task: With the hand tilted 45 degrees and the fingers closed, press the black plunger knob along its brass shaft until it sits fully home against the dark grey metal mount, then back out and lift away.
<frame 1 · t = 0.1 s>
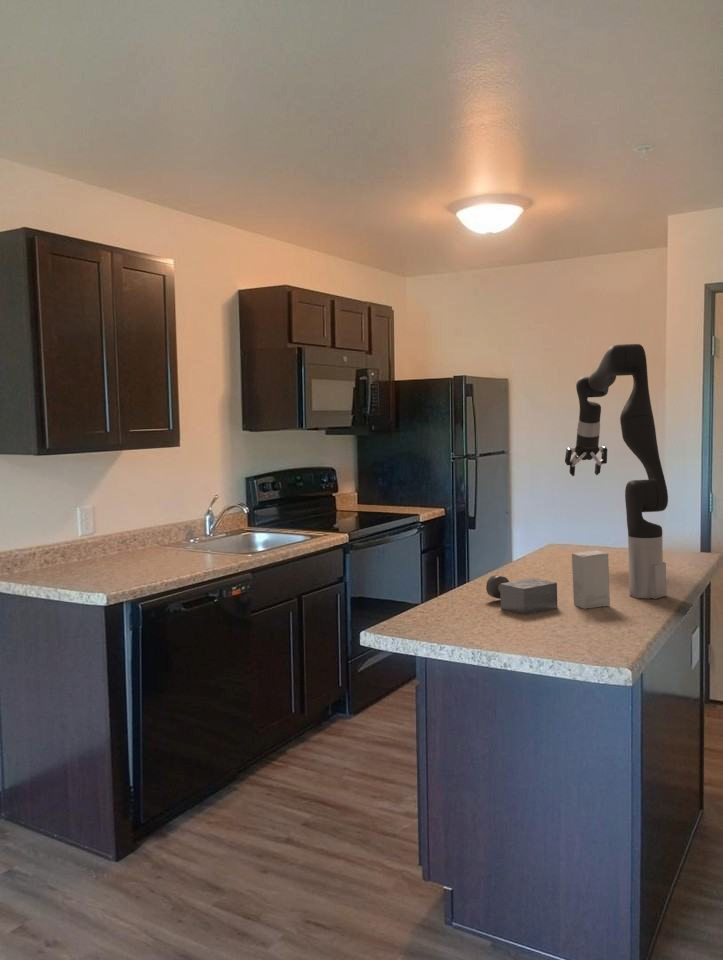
hand: (584, 474, 278), 31 cm above the countertop, tool tilted 20°, fingers open, 8 cm apart
skincare box: (591, 606, 215), on the countertop
mount: (517, 605, 219), on the countertop
knob: (507, 589, 222), point 4 cm above the countertop, slide at 6.0 cm
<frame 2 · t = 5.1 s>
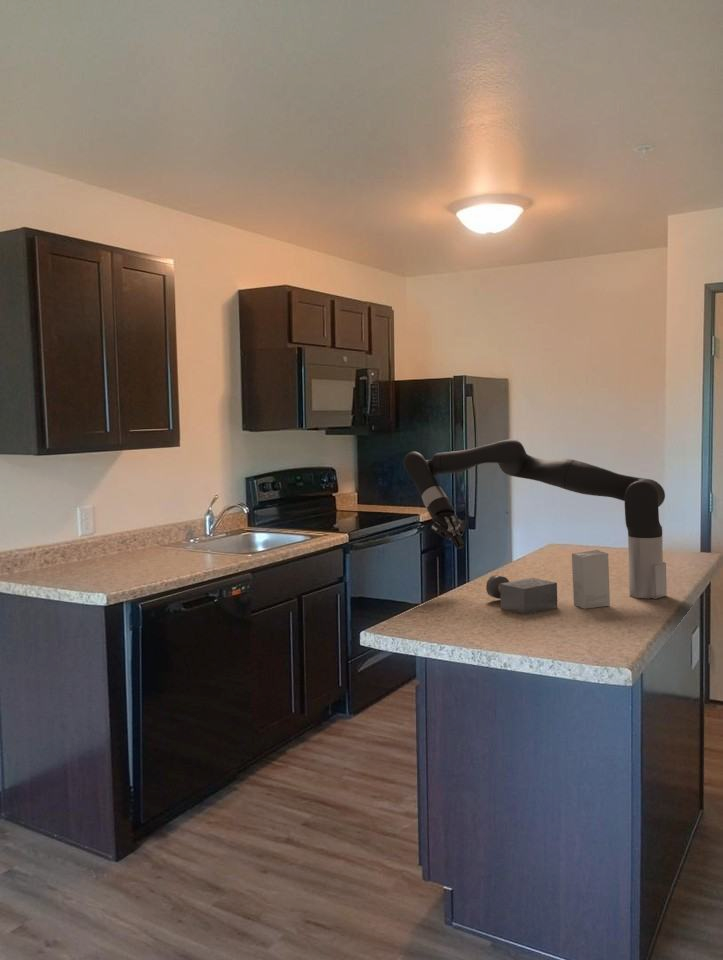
hand: (461, 547, 238), 14 cm above the countertop, tool tilted 45°, fingers closed
nothing on the countertop moved.
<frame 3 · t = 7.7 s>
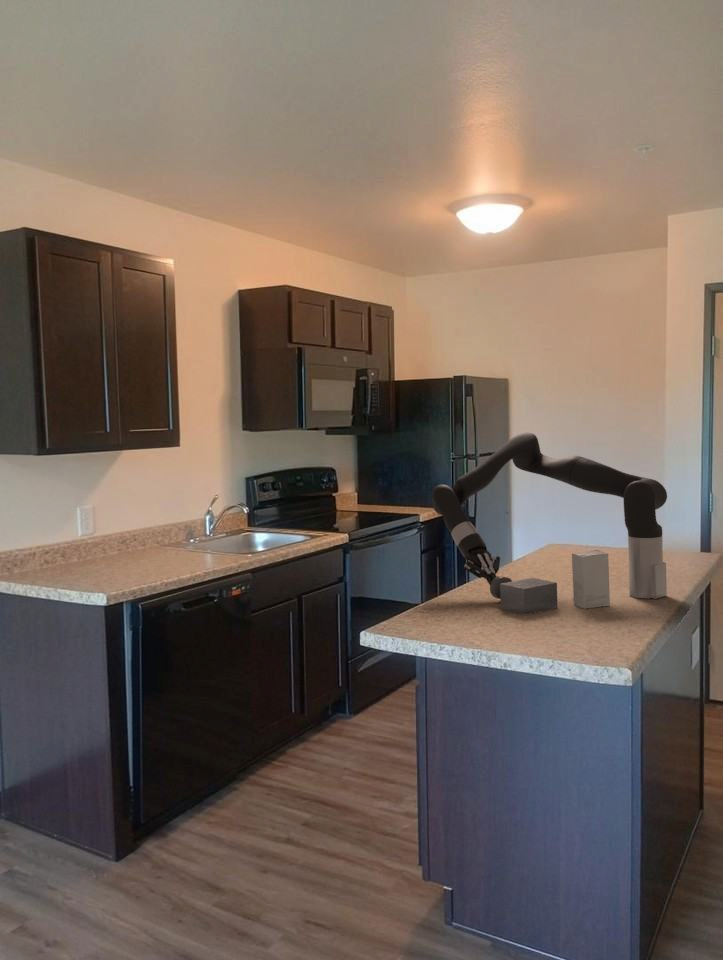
hand: (496, 586, 226), 4 cm above the countertop, tool tilted 45°, fingers closed
knob: (511, 590, 221), point 4 cm above the countertop, slide at 4.4 cm, touching gripper
everything else where it was.
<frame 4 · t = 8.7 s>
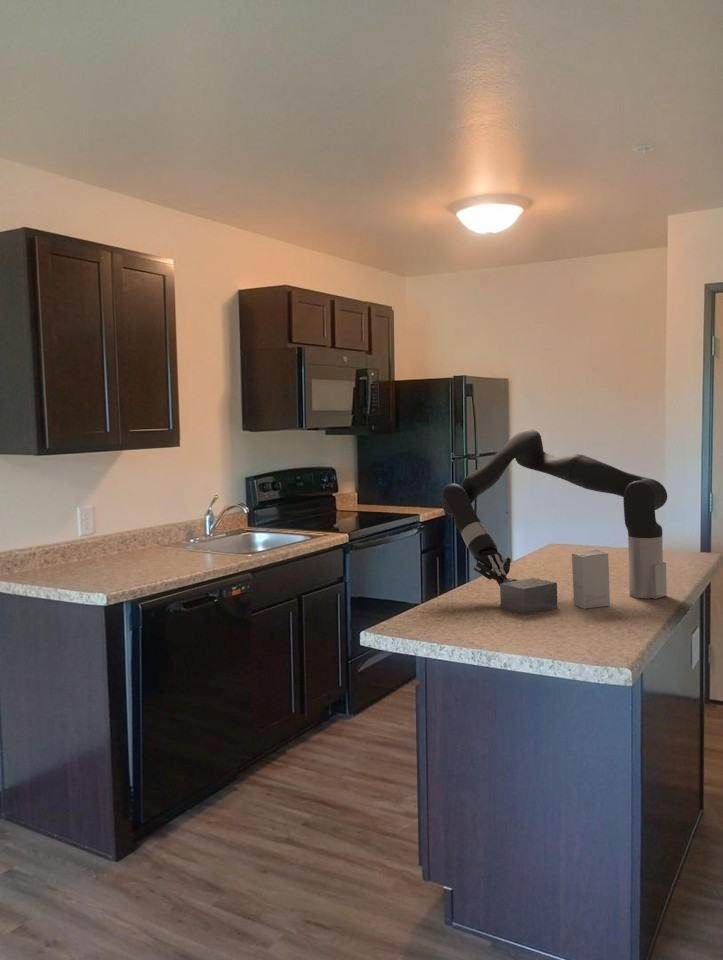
hand: (507, 588, 222), 4 cm above the countertop, tool tilted 45°, fingers closed
knob: (522, 592, 217), point 4 cm above the countertop, slide at -0.1 cm, touching gripper
everything else where it was.
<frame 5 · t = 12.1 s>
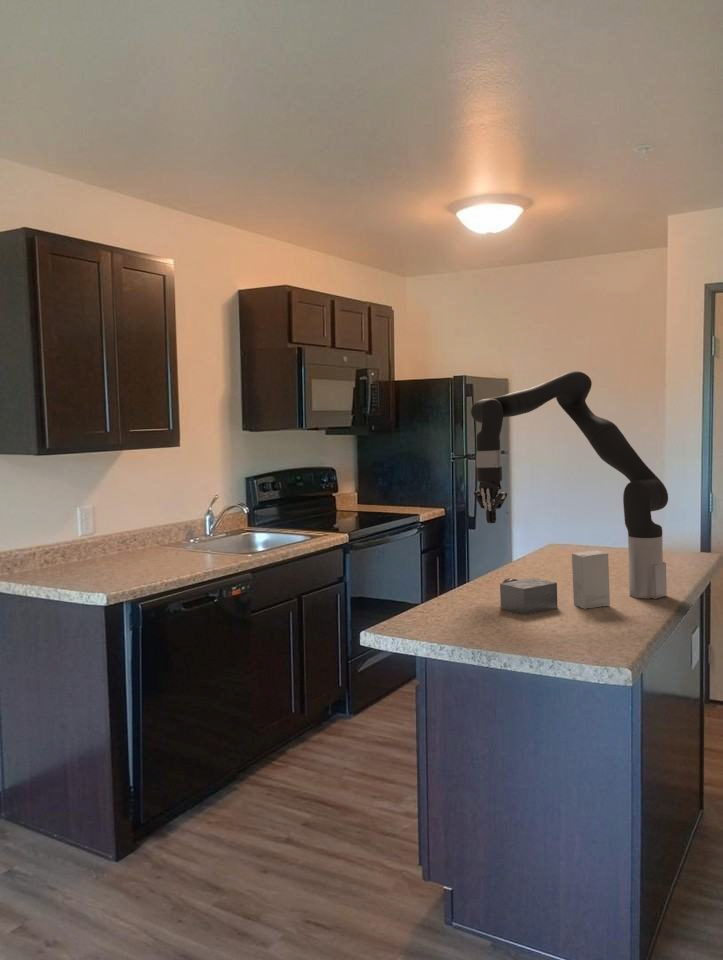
hand: (491, 522, 236), 21 cm above the countertop, tool pointing down, fingers closed
knob: (521, 592, 217), point 4 cm above the countertop, slide at 0.0 cm
everything else where it was.
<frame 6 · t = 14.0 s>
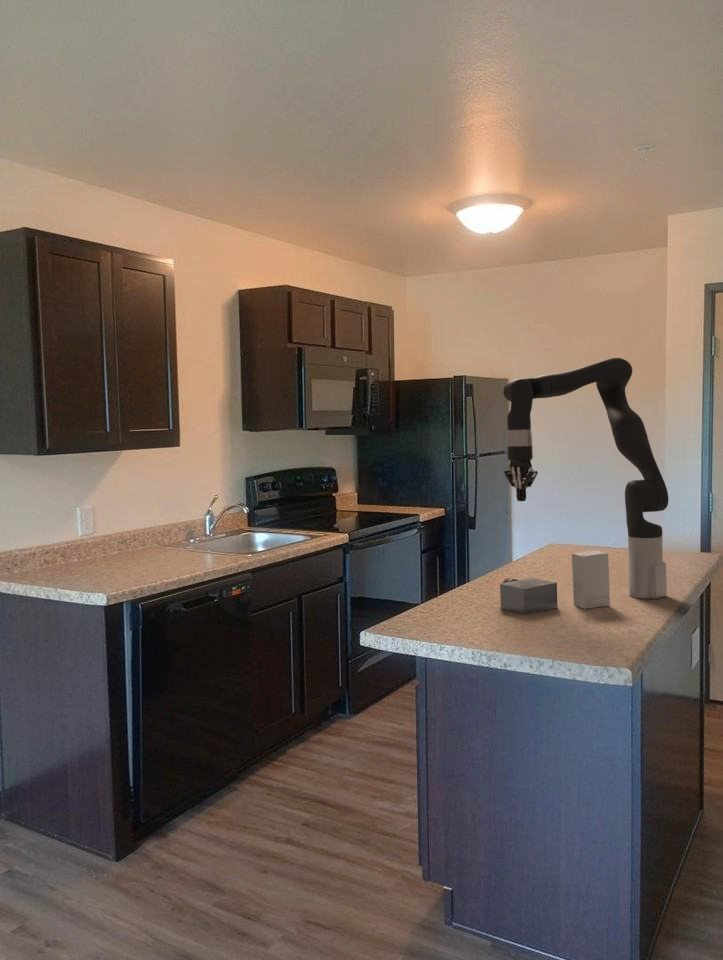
hand: (521, 500, 240), 27 cm above the countertop, tool pointing down, fingers closed
nothing on the countertop moved.
at the end: knob slide at 0.0 cm; the gripper is holding nothing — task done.
